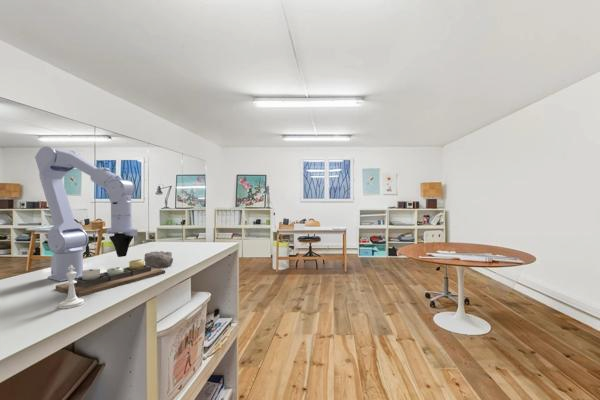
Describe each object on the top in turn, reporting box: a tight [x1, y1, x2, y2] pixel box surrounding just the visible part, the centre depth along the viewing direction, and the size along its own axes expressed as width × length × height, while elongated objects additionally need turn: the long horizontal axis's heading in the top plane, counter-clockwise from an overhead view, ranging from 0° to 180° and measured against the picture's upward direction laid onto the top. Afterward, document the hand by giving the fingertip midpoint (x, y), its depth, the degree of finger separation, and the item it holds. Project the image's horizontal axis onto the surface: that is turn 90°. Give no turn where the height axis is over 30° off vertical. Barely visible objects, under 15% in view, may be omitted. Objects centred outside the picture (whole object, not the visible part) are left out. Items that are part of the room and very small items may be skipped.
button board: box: [55, 264, 166, 297], centre depth 89 cm, size 14×26×3 cm, turn 153°
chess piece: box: [58, 265, 85, 310], centre depth 69 cm, size 5×5×10 cm
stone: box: [143, 250, 174, 268], centre depth 108 cm, size 8×10×6 cm
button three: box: [128, 258, 145, 269], centre depth 95 cm, size 4×4×3 cm
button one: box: [81, 268, 101, 280], centre depth 83 cm, size 4×4×3 cm
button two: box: [106, 266, 124, 275], centre depth 89 cm, size 4×4×3 cm
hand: (121, 256), depth 91 cm, fingers closed
